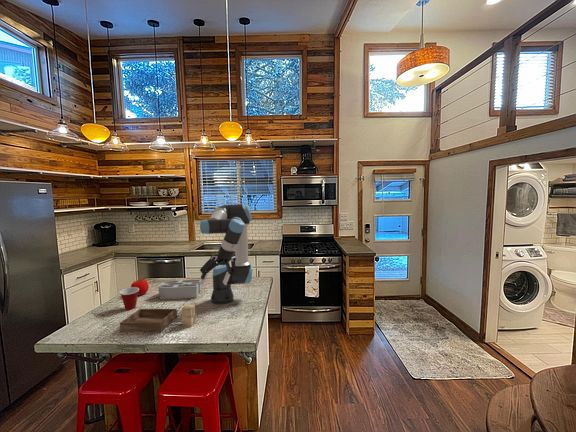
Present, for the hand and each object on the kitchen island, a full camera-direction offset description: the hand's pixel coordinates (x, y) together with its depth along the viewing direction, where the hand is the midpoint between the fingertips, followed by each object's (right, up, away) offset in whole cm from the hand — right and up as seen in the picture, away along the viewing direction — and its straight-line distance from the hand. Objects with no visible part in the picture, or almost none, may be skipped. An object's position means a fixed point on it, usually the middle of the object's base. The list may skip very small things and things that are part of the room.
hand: (213, 284), depth 142 cm
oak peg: (-15, -24, +7) cm, 29 cm away
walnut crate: (-37, -24, +8) cm, 45 cm away
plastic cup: (-61, -23, +31) cm, 72 cm away
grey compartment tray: (-39, -22, +53) cm, 70 cm away
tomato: (-69, -22, +56) cm, 91 cm away
